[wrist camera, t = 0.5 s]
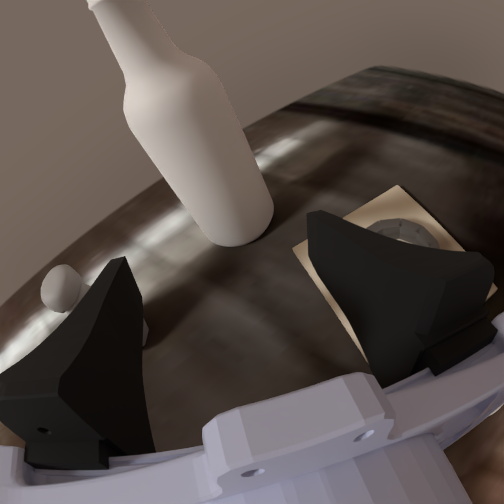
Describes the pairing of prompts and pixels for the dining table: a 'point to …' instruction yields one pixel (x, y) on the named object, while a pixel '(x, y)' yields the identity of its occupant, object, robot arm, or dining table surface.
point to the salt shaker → (67, 291)
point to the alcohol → (186, 125)
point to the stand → (388, 235)
